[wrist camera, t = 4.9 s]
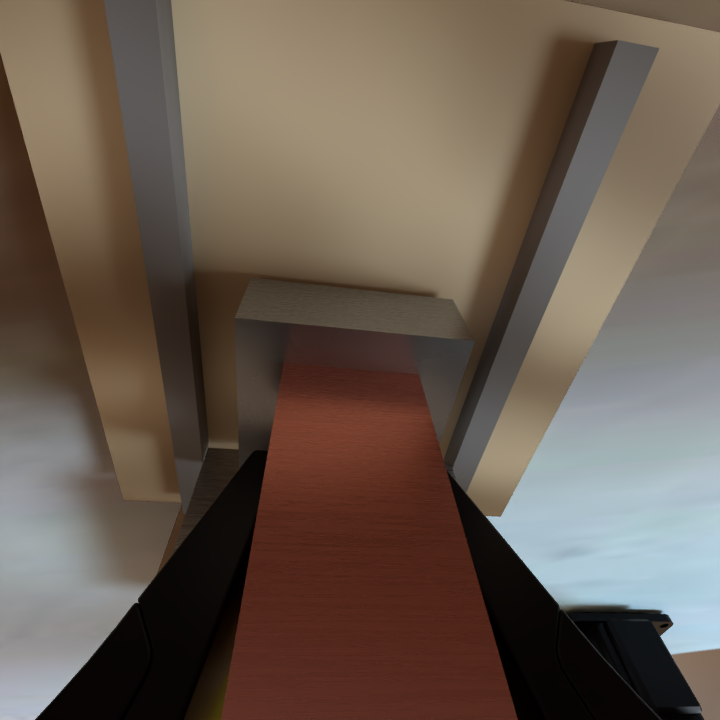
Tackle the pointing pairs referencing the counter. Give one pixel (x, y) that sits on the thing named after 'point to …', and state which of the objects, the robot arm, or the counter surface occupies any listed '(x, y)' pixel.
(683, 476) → the counter surface
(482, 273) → the wooden board with rails
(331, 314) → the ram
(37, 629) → the counter surface
